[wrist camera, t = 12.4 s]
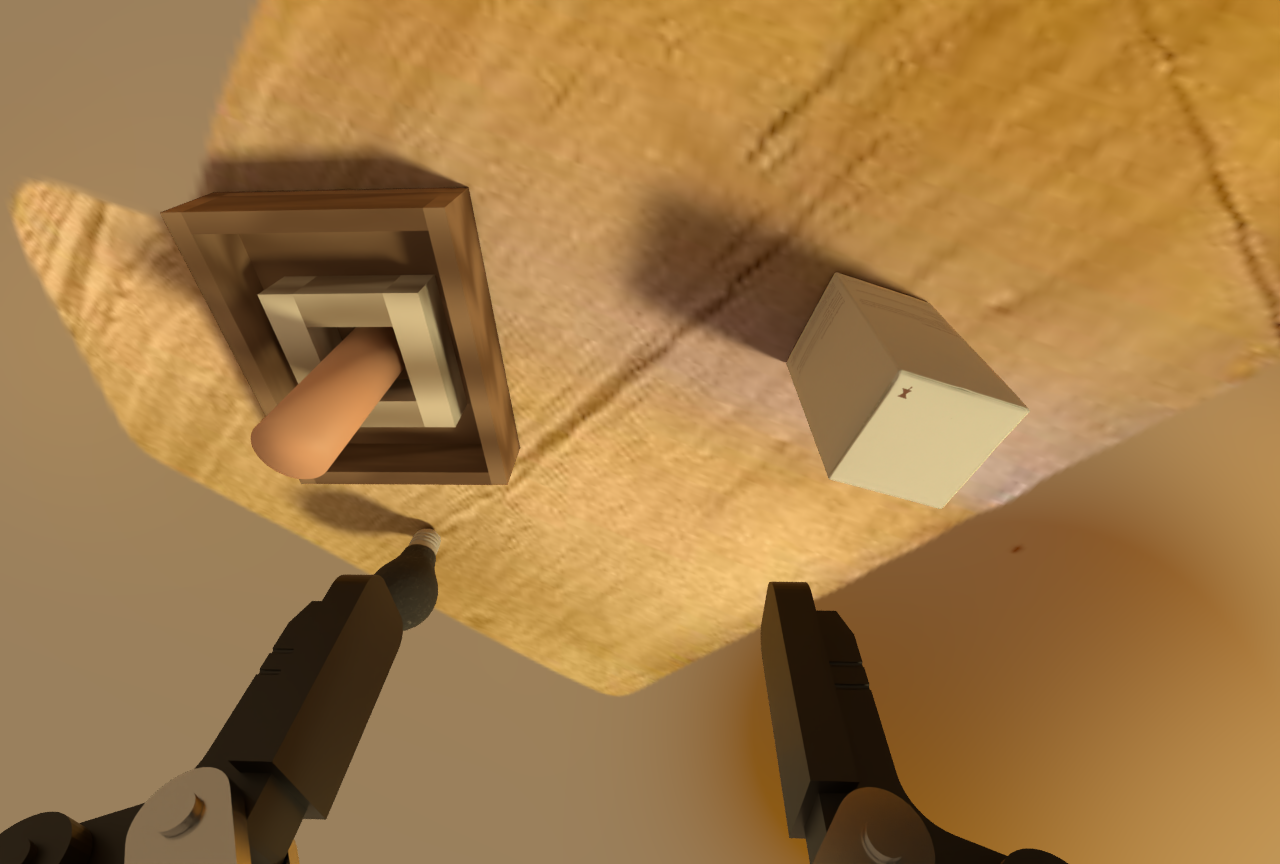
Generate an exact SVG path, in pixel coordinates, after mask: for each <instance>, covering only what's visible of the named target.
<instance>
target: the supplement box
mask: <svg viewBox="0 0 1280 864" xmlns="http://www.w3.org/2000/svg"><path fill="white" fill-rule="evenodd" d="M786 364H787V367H788V370H789V372H790V375H791V378H792V381H793V383H794V386H795V389H796V391H797V394H798V397H799V399H800V402H801V405H802V407H803V410H804V413H805V416H806V418H807V421H808V424H809V427H810V429H811V432H812V434H813V437H814V440H815V443H816V445H817V448H818V451H819V454H820V456H821V459H822V462H823V464H824V467H825V470H826V473H827V475H828V478H829V479H830V480H833V481H837V482H841V483H845V484H849V485H853V486H857V487H860V488H864V489H868V490H872V491H875V492H879V493H883V494H887V495H890V496H894V497H898V498H902V499H905V500H909V501H913V502H916V503H920V504H924V505H927V506H931V507H935V508H938V509H942V508H943V507H944V506H945V505H946V504H947V503H948V502H949V500H950V499H951V498H952V497H953V496H954V495H955V494H956V493H957V492H958V491H959V489H960V488H961V487H962V486H963V485H964V484H965V483H966V481H967V480H968V479H969V478H970V477H971V476H972V475H973V474H974V473H975V471H976V470H977V469H978V468H979V467H980V466H981V465H982V464H983V462H984V461H985V460H986V459H987V458H988V457H989V456H990V454H991V453H992V452H993V451H994V450H995V449H996V448H997V446H998V445H999V444H1000V443H1001V442H1002V441H1003V440H1004V439H1005V438H1006V437H1007V436H1008V435H1009V434H1010V432H1011V431H1012V430H1013V429H1014V428H1015V427H1016V426H1017V425H1018V424H1019V423H1020V422H1021V421H1022V419H1023V418H1024V417H1025V416H1026V415H1027V414H1028V413H1029V411H1030V410H1029V409H1028V408H1027V406H1026V405H1025V404H1024V403H1023V402H1022V401H1021V400H1020V399H1019V398H1018V396H1017V395H1016V394H1015V393H1014V392H1013V391H1012V390H1011V389H1010V388H1009V387H1008V386H1007V385H1006V383H1005V382H1004V381H1003V380H1002V379H1001V378H1000V377H999V376H998V375H997V374H996V373H995V372H994V371H993V370H992V369H991V368H990V367H989V366H988V365H987V363H986V362H985V361H984V360H983V359H982V358H981V357H980V356H979V355H978V354H977V353H976V352H975V351H974V350H973V349H972V348H971V347H970V346H969V345H968V344H967V343H966V341H965V340H964V339H963V338H962V337H961V336H960V335H959V334H958V333H957V332H956V331H955V330H954V329H953V328H952V327H951V326H950V325H949V324H948V323H947V321H946V320H945V319H944V318H943V317H942V316H941V315H940V314H939V313H938V312H937V310H936V309H935V308H934V307H933V306H932V305H931V304H930V303H928V302H925V301H922V300H919V299H916V298H914V297H911V296H908V295H905V294H902V293H899V292H896V291H892V290H889V289H886V288H883V287H880V286H877V285H874V284H871V283H868V282H865V281H862V280H859V279H856V278H853V277H850V276H847V275H843V274H841V273H838V272H836V273H834V275H833V277H832V279H831V280H830V282H829V284H828V286H827V288H826V289H825V291H824V293H823V295H822V297H821V299H820V301H819V303H818V304H817V306H816V308H815V310H814V312H813V314H812V315H811V317H810V319H809V321H808V323H807V324H806V326H805V328H804V330H803V332H802V334H801V336H800V338H799V339H798V341H797V343H796V345H795V347H794V349H793V350H792V352H791V354H790V356H789V358H788V360H787V363H786Z"/></svg>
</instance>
